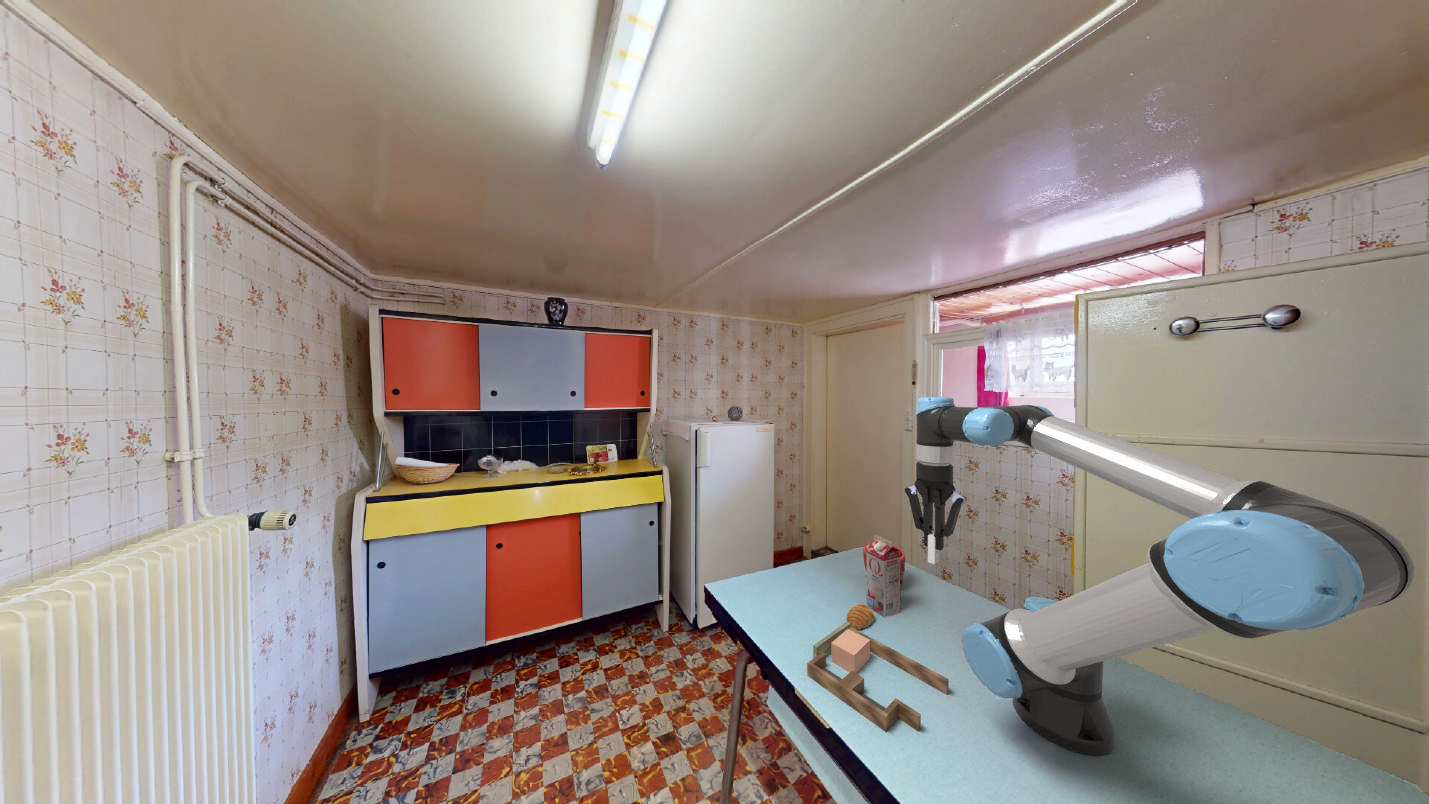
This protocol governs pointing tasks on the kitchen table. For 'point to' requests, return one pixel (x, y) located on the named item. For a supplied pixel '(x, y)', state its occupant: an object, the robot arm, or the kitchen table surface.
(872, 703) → the mats
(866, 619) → the pastry
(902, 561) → the plant pot
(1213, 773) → the kitchen table surface
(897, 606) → the juice carton
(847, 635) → the block
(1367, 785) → the kitchen table surface
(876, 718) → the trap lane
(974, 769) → the kitchen table surface
